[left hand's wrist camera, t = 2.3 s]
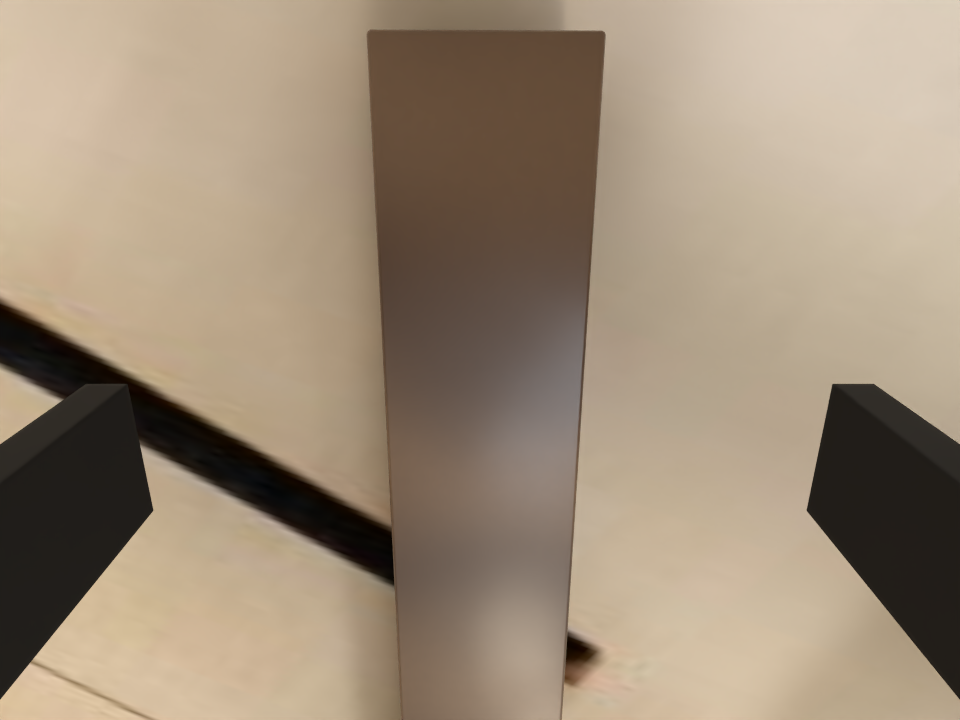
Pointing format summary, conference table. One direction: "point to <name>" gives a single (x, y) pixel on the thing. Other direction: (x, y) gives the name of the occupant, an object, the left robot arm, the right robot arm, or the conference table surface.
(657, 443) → the conference table surface
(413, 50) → the beam
